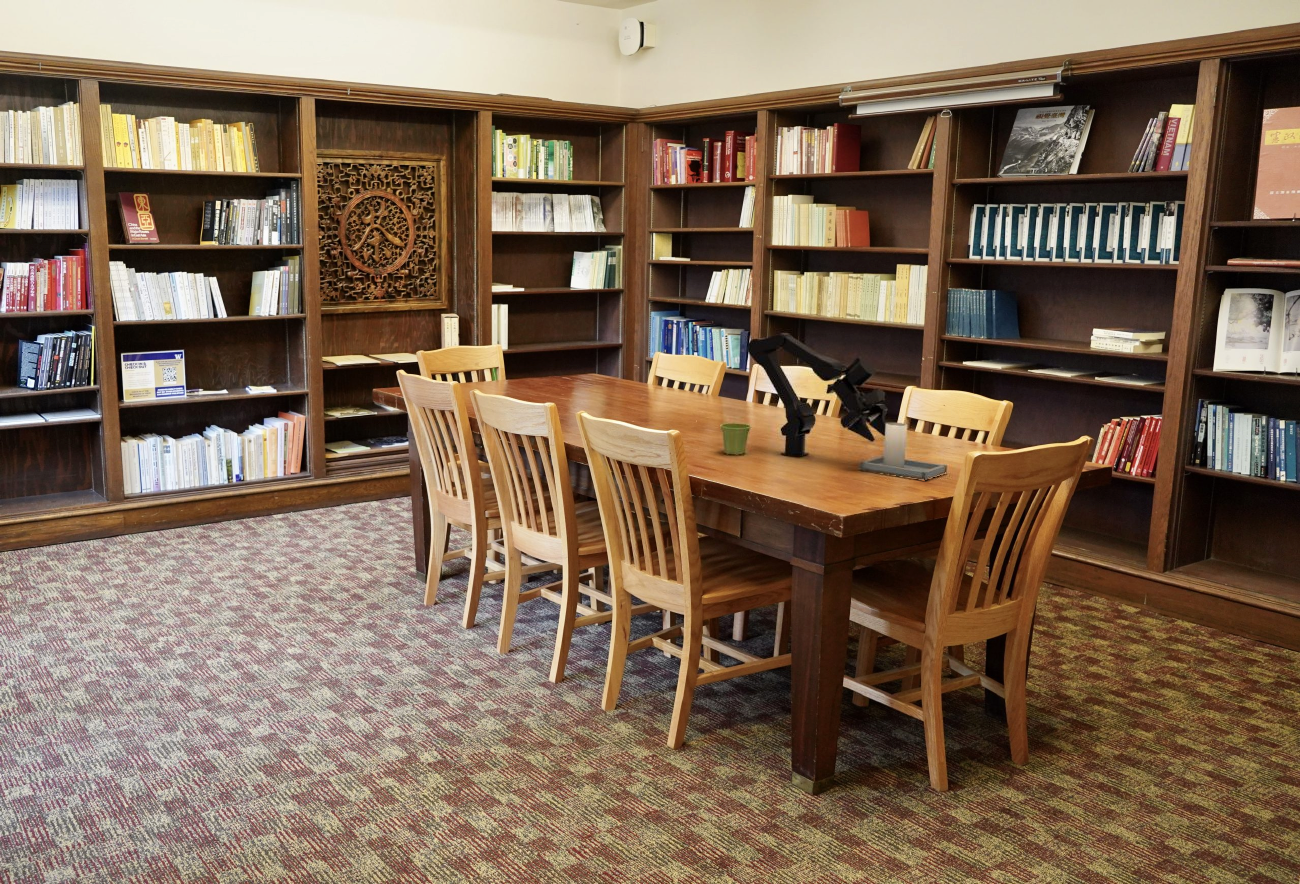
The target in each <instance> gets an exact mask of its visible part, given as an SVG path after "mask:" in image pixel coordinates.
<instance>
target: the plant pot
mask: <svg viewBox="0 0 1300 884" xmlns="http://www.w3.org/2000/svg"><path fill="white" fill-rule="evenodd" d="M719 428H720V429H721V430H720V431H721V433H722V439H723V450H724V454H725V453H728V454H727V455H732V454H742V455H744V454H743V453H746V448H747V441H748V438H749V437H748V436H749V433H750V429H751V428H752V425H750V424H747V423H735V422H732V423H731V422H729V423H728V422H727V423H722V424H720V425H719Z"/></svg>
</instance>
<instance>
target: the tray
mask: <svg viewBox="0 0 1300 884" xmlns="http://www.w3.org/2000/svg"><path fill="white" fill-rule="evenodd" d="M860 470H863V471H862V472H864V471H870V472H875V473H874V474H876V473H883V474H889V475H896V476H903V477H911V478H917V479H924V480H926V479H928V478H931V477H934V476H937V475H940V474H943V473H945V472H946V473H947V470H948V465H945V464H940V463H939V464H938V463H933V462H928V461H927V462H926V461H919V460H913V459H906V458H905V462H904V468H899V467H893V466H887V465H883V455H881V456H877V457H873V458H869V459H867V460H863V461H860V464H859V471H860ZM870 472H869V473H870Z"/></svg>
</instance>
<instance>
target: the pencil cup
mask: <svg viewBox="0 0 1300 884" xmlns="http://www.w3.org/2000/svg"><path fill="white" fill-rule="evenodd" d="M885 423H886V427H885V436H884V440H883V441H884V443H883V444H884V445H883V455H882V456H883V465H887V466H893V467H899V468H904V462H905V459H906V449H907V448H906V446H907V436H908V435H907V432H908V424H906V423H902V422H885Z"/></svg>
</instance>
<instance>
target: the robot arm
mask: <svg viewBox="0 0 1300 884" xmlns="http://www.w3.org/2000/svg"><path fill="white" fill-rule="evenodd" d="M748 342H749V343H748V345H747V352H748V354H749V356H750V357H751V358H752V360H753V361H754V362H755V363H756V364H758V365H759V366H760V367H761V368H763V370H764V372H765V373H766V375H767V377H768V379H769V381H770V383H771V385H772V386H773V387H774V390H775V391H776V394H777V395H778V397H779V399H780V401H781V402H782V404H783V406H784V408H785V419H786V423H785V424H784V425H783V426H782V427H780V433H781V436H785V444H784V447H785V448H784V451H783V452H780V455H785V456H790V457H797V458H800V457H803V456H808V455H810V453H809V452H806V435H810V433H811V431H812V429H813V428H814V427H815V424H816V421H817V419H816V416H815V415H816V412H814V410H813V408H812V406H811V404H810V402H805V403H804V402H802V401H801V400H800V399H799V396H798V395H797V393H796V392H795V390H794V388H793V386H792V385H791V383H790V381H789V379H788V377H787V375H786V374H785V372H784V370H783V368H782V367H781V364H780V363H779V361H778V351H777V350H780V349H783V350H785V351H787V353H789V354H790V355H792V356H793V357H795V358H797V359H798V360H800V361H802V363H804V364H806V365H808V366H809V367H810V368H811V370H812V371H813V373H814V374H815V375H816V376H817V378H819V379H821V381H824V382H829V381H834V382H833V383H829V384H827V388H826V391H825V393H826V394H833V393H834V394H835V395H836V396H837V397H838V399H839V400H840V402H841V404H842V405H841V408H842V409H846V410H847V413H846V414H844V416H843V417H842V418H840V423H839V424H840V425H841V426H842V427H843V429H846V430H848V431H851V432H853V433H854V434H857V435H859V436H861V437H863V438H864V439H866V440H868V441H870V442H871V443H872V442H874V441H875V440H876V439H875V437H874V435H873V433H872V431H871V430H870V428H869V426H870V427H872V428H873V429H874V430H875V431H877V432H878V433H879V434H880V435H882V436H883V437H885V427H886V423H887V422H886V419H885V418H886V414H887V413H888V412H887V411H888V407H887V405H885V404H882V403H879V402H884V401H886V399H885V396H886V392H885V391H884V390H883V389H881V387H877V388H875V389H872V391H871V392H868V393H864V392H863V391H862V392H859V390H858V389H857V387H862V386H863V385H865V384H866V382H868V381H869V380H870V379H871V378H872V377H874V375H875V374H876V369H875V367H874V366H873V365H872V364H870V362H868V361H866V360H865V359H864V358H863V357H861V356H860V357H856V358H855V359H854V361H853V362H851V364H850V365H844V364H843V363H842V362H841V361H840V360H837V359H834V358H832V357H829V356H826V355H822V354H821V353H819V352H817V351H815V350H814V349H812V348H811V347H809V346H807V345H805V344H804V343H802V342H801V341H800V340H798V339H796V338H795V337H793V336H792V335H791V334H790V333H788V332H783V333H778V334H776V335H773V336H769V337H761V338H753V339H751V340H750V341H748ZM842 376H843V377H842ZM877 403H878V404H877ZM867 423H868V425H869V426H868V425H867Z"/></svg>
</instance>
